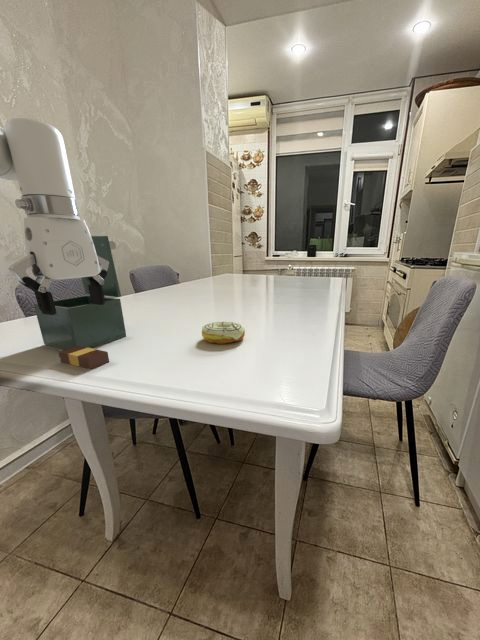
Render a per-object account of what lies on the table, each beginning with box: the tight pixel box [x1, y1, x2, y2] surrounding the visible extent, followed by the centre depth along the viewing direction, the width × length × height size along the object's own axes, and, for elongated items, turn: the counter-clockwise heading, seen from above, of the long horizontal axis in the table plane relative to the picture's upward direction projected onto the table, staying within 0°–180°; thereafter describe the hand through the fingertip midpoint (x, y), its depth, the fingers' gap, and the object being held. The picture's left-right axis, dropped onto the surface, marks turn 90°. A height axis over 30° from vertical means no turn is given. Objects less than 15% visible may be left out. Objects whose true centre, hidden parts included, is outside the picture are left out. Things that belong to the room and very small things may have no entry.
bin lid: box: [80, 235, 122, 298], centre depth 73 cm, size 14×12×5 cm
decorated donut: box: [201, 321, 246, 345], centre depth 73 cm, size 10×11×4 cm
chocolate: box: [58, 346, 110, 370], centre depth 59 cm, size 9×4×2 cm, turn 66°
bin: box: [33, 294, 127, 350], centre depth 70 cm, size 13×12×10 cm
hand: (75, 308), depth 56 cm, fingers open, 9 cm apart
